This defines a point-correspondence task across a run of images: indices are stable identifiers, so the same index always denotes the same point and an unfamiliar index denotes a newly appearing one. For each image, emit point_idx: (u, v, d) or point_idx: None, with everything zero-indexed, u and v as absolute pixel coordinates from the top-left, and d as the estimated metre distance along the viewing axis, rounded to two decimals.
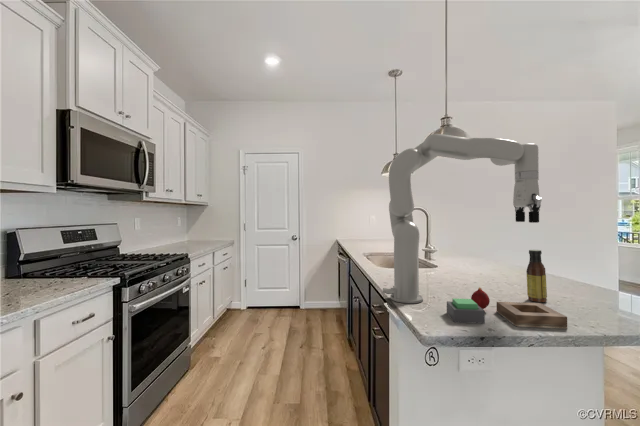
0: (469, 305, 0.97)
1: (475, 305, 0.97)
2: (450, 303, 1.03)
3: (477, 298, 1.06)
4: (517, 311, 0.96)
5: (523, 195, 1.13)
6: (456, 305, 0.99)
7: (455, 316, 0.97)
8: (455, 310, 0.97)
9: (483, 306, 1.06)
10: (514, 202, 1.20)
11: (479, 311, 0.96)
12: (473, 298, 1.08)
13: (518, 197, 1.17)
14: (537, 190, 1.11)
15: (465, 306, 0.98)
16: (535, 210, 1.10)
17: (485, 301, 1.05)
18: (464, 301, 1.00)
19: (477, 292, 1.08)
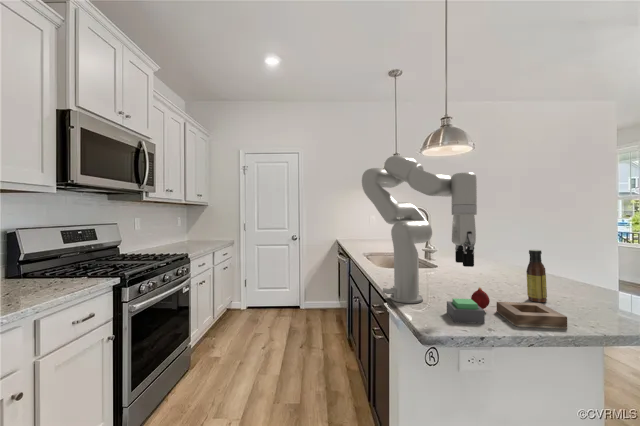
0: (469, 305, 0.97)
1: (475, 305, 0.97)
2: (450, 303, 1.03)
3: (477, 298, 1.06)
4: (517, 311, 0.96)
5: (458, 232, 0.98)
6: (456, 305, 0.99)
7: (455, 316, 0.97)
8: (455, 310, 0.97)
9: (483, 306, 1.06)
10: (452, 238, 1.04)
11: (479, 311, 0.96)
12: (473, 298, 1.08)
13: (455, 233, 1.01)
14: (473, 227, 0.96)
15: (465, 306, 0.98)
16: (469, 253, 0.95)
17: (485, 301, 1.05)
18: (464, 301, 1.00)
19: (477, 292, 1.08)
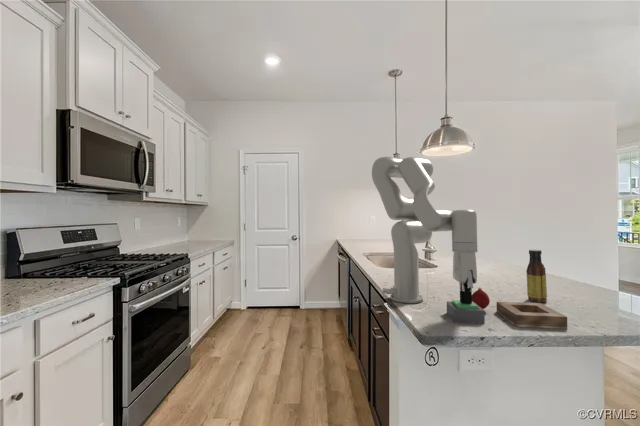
0: (469, 307, 0.97)
1: (475, 307, 0.97)
2: (450, 303, 1.03)
3: (477, 298, 1.06)
4: (517, 311, 0.96)
5: (459, 270, 0.97)
6: (456, 307, 0.99)
7: (455, 316, 0.97)
8: (455, 310, 0.97)
9: (483, 306, 1.06)
10: (453, 274, 1.04)
11: (479, 311, 0.96)
12: (473, 298, 1.08)
13: (456, 270, 1.01)
14: (474, 266, 0.95)
15: (465, 308, 0.98)
16: None
17: (485, 301, 1.05)
18: None
19: (477, 292, 1.08)
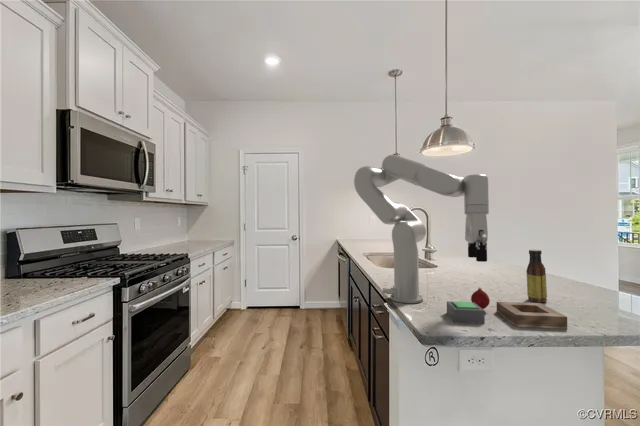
0: (469, 308, 0.97)
1: (475, 308, 0.97)
2: (450, 303, 1.03)
3: (477, 298, 1.06)
4: (517, 311, 0.96)
5: (471, 231, 1.03)
6: (456, 308, 0.99)
7: (455, 316, 0.97)
8: (455, 310, 0.97)
9: (483, 306, 1.06)
10: (465, 236, 1.10)
11: (479, 311, 0.96)
12: (473, 298, 1.08)
13: (468, 232, 1.07)
14: (485, 226, 1.01)
15: None
16: (482, 248, 1.00)
17: (485, 301, 1.05)
18: (464, 304, 1.00)
19: (477, 292, 1.08)
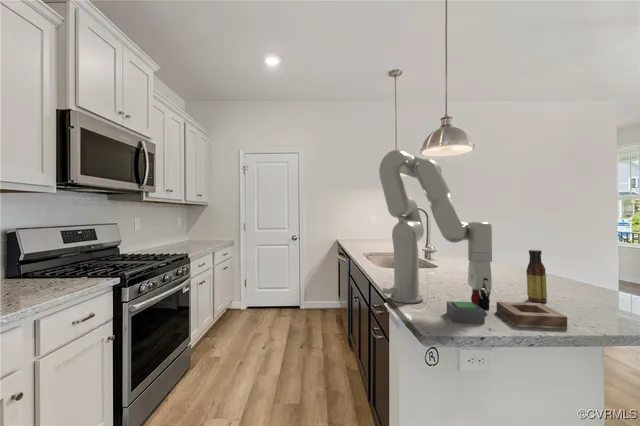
0: (469, 308, 0.97)
1: (475, 308, 0.97)
2: (450, 303, 1.03)
3: (477, 298, 1.06)
4: (517, 311, 0.96)
5: (475, 278, 1.05)
6: (456, 308, 0.99)
7: (455, 316, 0.97)
8: (455, 310, 0.97)
9: None
10: (468, 281, 1.12)
11: (479, 311, 0.96)
12: (473, 298, 1.08)
13: (471, 277, 1.09)
14: (489, 274, 1.03)
15: None
16: (484, 299, 1.04)
17: None
18: (464, 304, 1.00)
19: (477, 292, 1.08)
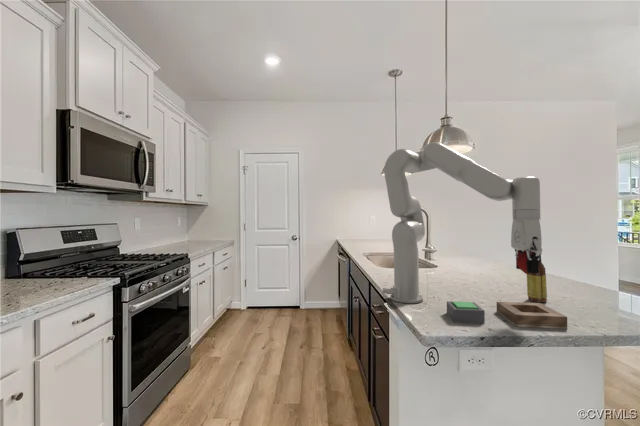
0: (469, 308, 0.97)
1: (475, 308, 0.97)
2: (450, 303, 1.03)
3: (524, 259, 0.97)
4: (517, 311, 0.96)
5: (522, 238, 0.96)
6: (456, 308, 0.99)
7: (455, 316, 0.97)
8: (455, 310, 0.97)
9: None
10: (512, 243, 1.03)
11: (479, 311, 0.96)
12: (519, 260, 0.98)
13: (517, 238, 1.00)
14: (539, 233, 0.94)
15: None
16: (534, 260, 0.94)
17: None
18: (464, 304, 1.00)
19: (524, 254, 0.98)
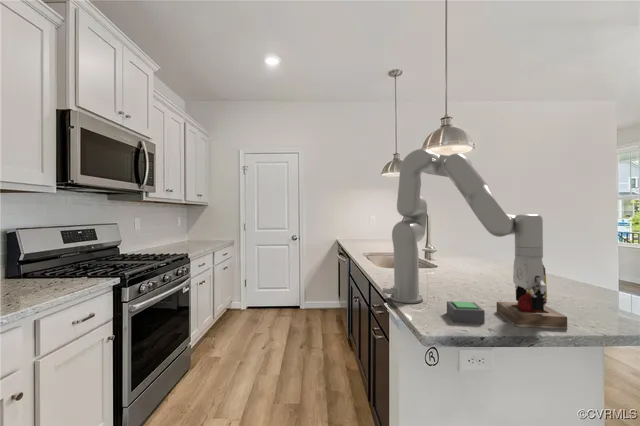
0: (469, 308, 0.97)
1: (475, 308, 0.97)
2: (450, 303, 1.03)
3: (525, 303, 0.97)
4: (517, 311, 0.96)
5: (525, 276, 0.96)
6: (456, 308, 0.99)
7: (455, 316, 0.97)
8: (455, 310, 0.97)
9: (532, 312, 0.96)
10: (514, 279, 1.02)
11: (479, 311, 0.96)
12: (521, 303, 0.98)
13: (519, 275, 0.99)
14: (541, 272, 0.94)
15: None
16: (539, 296, 0.92)
17: None
18: (464, 304, 1.00)
19: (525, 297, 0.98)
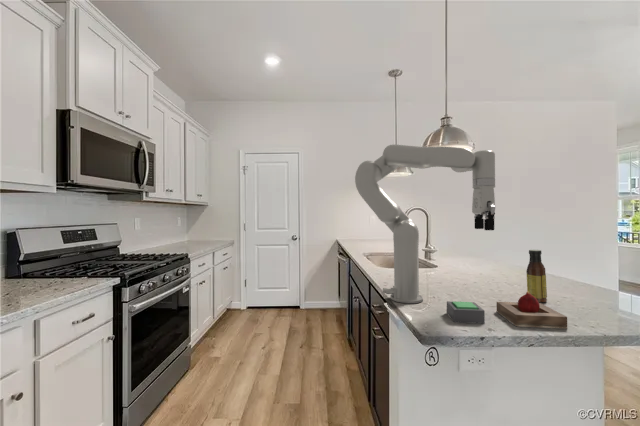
0: (469, 308, 0.97)
1: (475, 308, 0.97)
2: (450, 303, 1.03)
3: (526, 303, 0.97)
4: (517, 311, 0.96)
5: (479, 202, 1.12)
6: (456, 308, 0.99)
7: (455, 316, 0.97)
8: (455, 310, 0.97)
9: (533, 312, 0.96)
10: (472, 209, 1.18)
11: (479, 311, 0.96)
12: (521, 303, 0.98)
13: (475, 204, 1.15)
14: (492, 197, 1.10)
15: None
16: (490, 218, 1.09)
17: (535, 306, 0.96)
18: (464, 304, 1.00)
19: (525, 296, 0.98)
